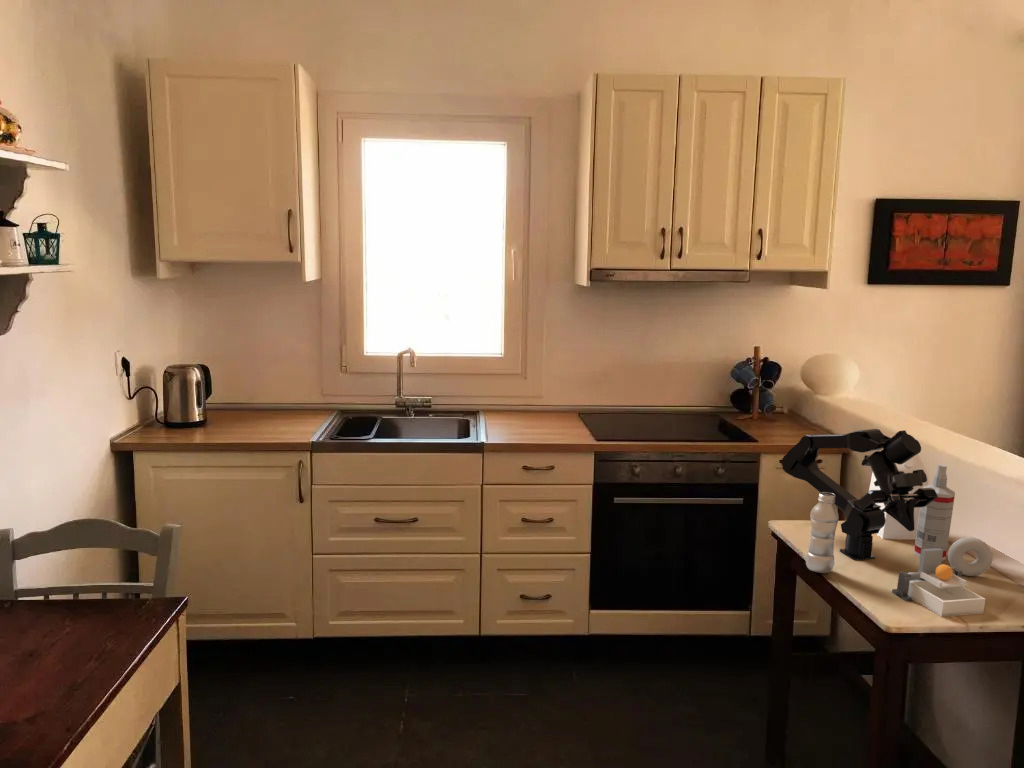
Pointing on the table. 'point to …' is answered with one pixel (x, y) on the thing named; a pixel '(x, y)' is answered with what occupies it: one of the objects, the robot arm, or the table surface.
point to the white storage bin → (946, 599)
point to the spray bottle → (936, 516)
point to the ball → (944, 572)
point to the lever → (928, 567)
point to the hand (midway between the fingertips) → (912, 530)
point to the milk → (892, 526)
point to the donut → (970, 544)
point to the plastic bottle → (822, 534)
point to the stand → (904, 584)
